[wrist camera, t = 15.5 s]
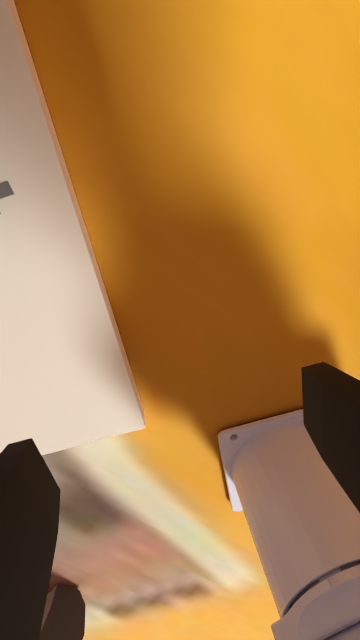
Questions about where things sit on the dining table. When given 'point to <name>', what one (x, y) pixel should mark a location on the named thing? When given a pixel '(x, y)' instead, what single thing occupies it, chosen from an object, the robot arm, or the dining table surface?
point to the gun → (63, 614)
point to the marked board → (50, 282)
